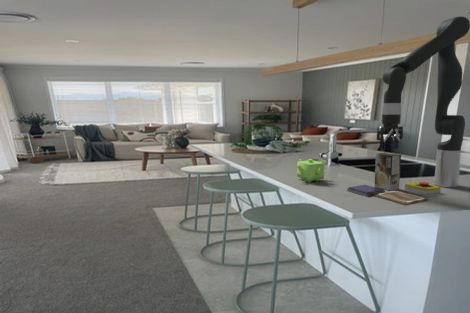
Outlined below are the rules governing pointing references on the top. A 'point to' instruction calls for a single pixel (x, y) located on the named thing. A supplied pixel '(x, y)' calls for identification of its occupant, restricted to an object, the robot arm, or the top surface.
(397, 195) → the marked board
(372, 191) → the ink pad
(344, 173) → the top surface
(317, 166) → the green knobbed block
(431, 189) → the emergency button
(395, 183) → the coffee box
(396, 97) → the robot arm
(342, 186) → the top surface
